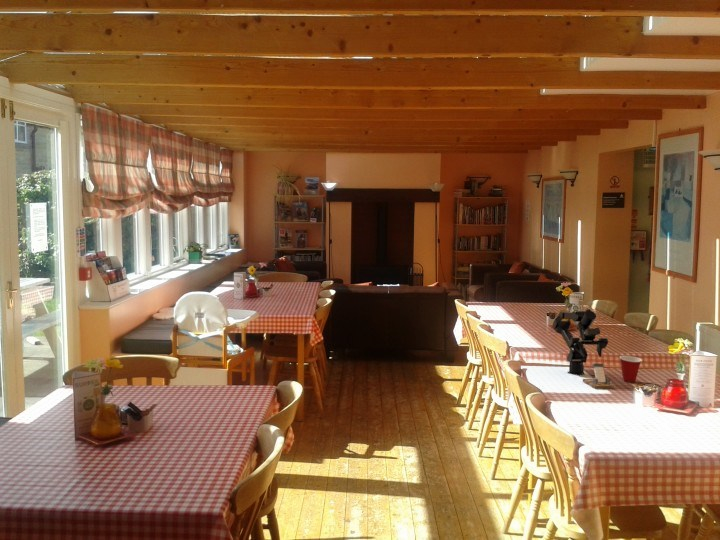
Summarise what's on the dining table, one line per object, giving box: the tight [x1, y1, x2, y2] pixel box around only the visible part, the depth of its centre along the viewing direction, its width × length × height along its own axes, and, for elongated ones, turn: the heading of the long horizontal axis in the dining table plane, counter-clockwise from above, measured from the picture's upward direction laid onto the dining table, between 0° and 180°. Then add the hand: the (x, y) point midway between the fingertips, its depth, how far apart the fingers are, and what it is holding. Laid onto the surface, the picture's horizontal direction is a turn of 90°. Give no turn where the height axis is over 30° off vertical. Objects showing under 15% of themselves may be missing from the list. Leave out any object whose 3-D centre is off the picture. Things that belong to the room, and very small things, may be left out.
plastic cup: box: [618, 355, 643, 383], centre depth 361 cm, size 11×11×12 cm
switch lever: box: [592, 363, 606, 383], centre depth 348 cm, size 2×5×10 cm
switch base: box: [582, 377, 614, 390], centre depth 350 cm, size 16×9×4 cm, turn 4°
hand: (592, 356), depth 357 cm, fingers open, 8 cm apart
